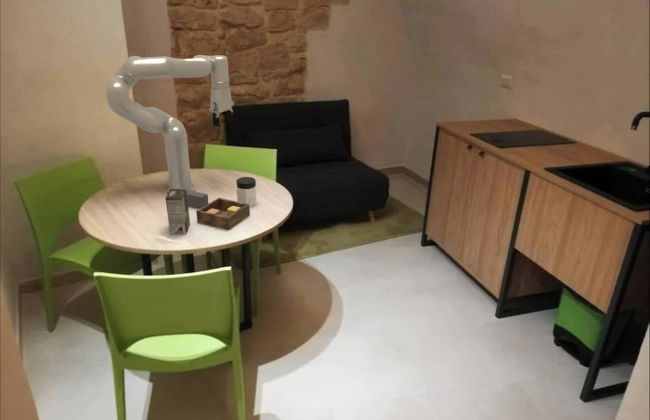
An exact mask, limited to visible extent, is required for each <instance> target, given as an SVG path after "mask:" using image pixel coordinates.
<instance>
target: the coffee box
mask: <svg viewBox="0 0 650 420" xmlns="http://www.w3.org/2000/svg"><path fill="white" fill-rule="evenodd" d="M165 205H166V212H167V221H168V229H169V235H187V234H188V231H189V228H190V226H191V221H190V211H189V207H188V200H187V192H186V189H170V190H169V192H167V195H166V197H165Z"/></svg>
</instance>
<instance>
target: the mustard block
mask: <svg viewBox="0 0 650 420" xmlns="http://www.w3.org/2000/svg"><path fill="white" fill-rule="evenodd" d="M239 209H240V207H236V206H231V207H230V208H228V209H227V217H228V216H229V215H231V214H232V213H234V212H236V211H237V210H239Z"/></svg>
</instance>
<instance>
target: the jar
mask: <svg viewBox="0 0 650 420" xmlns="http://www.w3.org/2000/svg"><path fill="white" fill-rule="evenodd" d="M256 180H257V179H256V178H254V177H251V176H241V177H238V178H237V179H236V199H237V202H241V203H246V204H249V208H253V207H256V206H257V182H256Z"/></svg>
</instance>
